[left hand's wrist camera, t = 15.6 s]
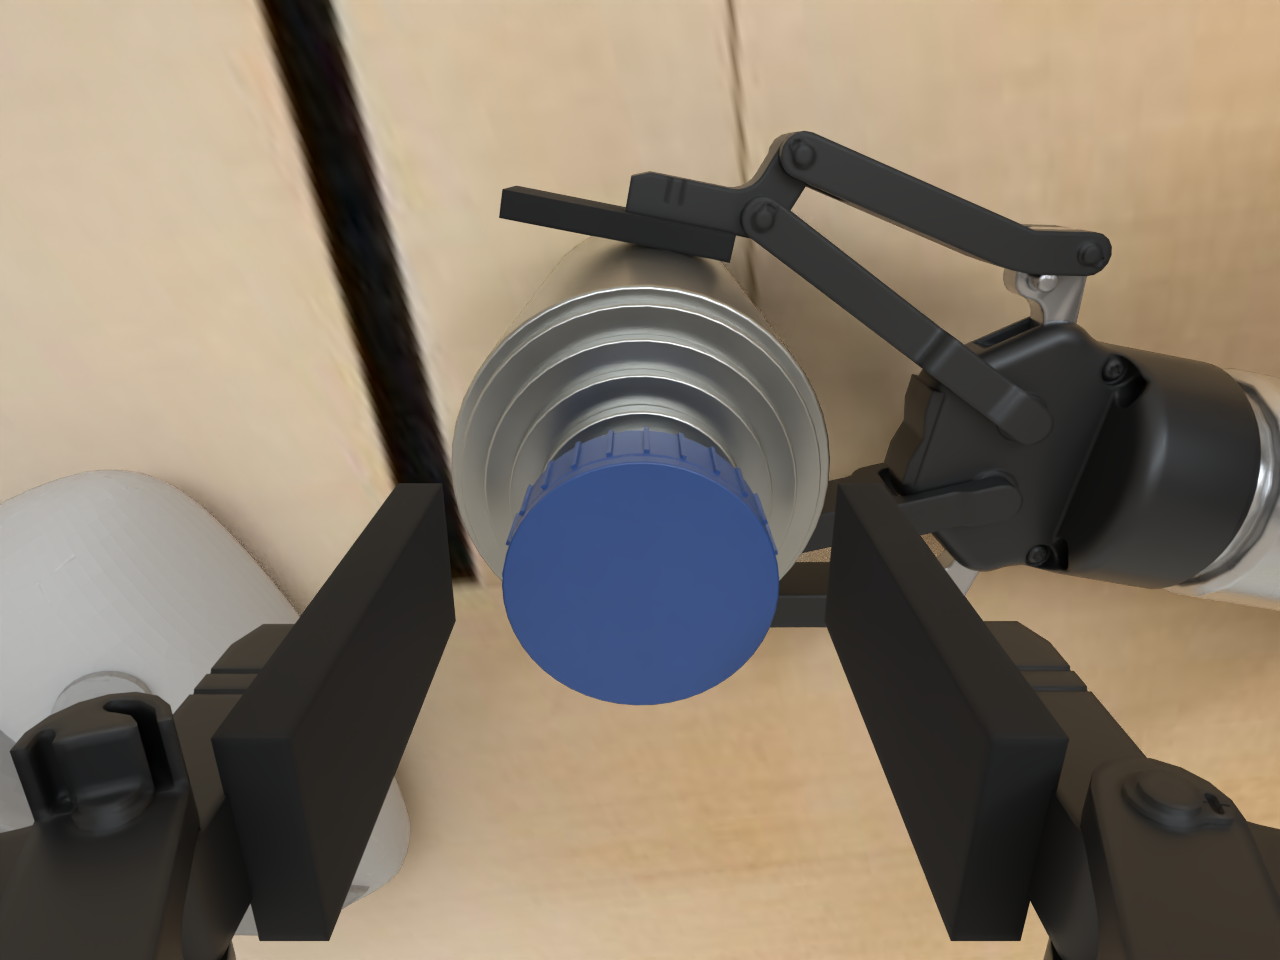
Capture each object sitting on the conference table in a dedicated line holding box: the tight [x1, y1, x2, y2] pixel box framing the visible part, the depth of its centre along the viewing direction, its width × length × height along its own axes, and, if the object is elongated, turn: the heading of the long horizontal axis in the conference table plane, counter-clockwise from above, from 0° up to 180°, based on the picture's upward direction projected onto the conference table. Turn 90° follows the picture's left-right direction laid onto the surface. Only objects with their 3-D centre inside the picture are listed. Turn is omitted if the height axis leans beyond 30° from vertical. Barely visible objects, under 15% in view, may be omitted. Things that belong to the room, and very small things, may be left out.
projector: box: [0, 470, 411, 935], centre depth 30 cm, size 22×23×15 cm
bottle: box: [452, 236, 830, 581], centre depth 23 cm, size 8×8×19 cm
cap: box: [502, 427, 779, 705], centre depth 14 cm, size 5×5×2 cm
